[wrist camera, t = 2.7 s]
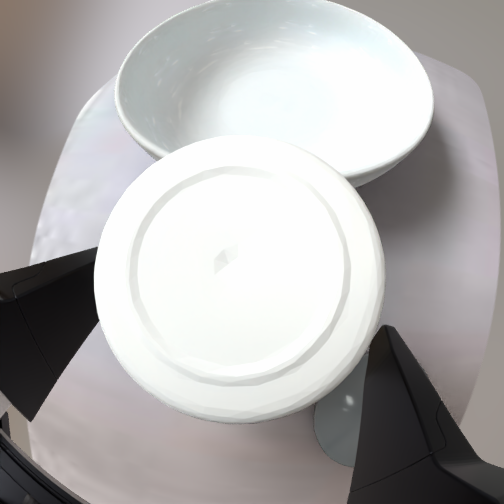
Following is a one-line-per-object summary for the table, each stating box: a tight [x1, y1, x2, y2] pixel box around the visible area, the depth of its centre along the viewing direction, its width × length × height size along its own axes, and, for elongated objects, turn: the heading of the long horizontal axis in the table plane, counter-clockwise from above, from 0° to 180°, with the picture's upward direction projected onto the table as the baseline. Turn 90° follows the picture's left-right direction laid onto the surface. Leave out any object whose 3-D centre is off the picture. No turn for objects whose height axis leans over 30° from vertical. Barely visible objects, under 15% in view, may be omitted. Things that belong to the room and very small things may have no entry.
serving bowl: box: [114, 0, 434, 188], centre depth 17 cm, size 21×21×7 cm
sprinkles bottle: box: [94, 135, 386, 424], centre depth 10 cm, size 5×5×14 cm
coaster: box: [313, 353, 428, 467], centre depth 14 cm, size 8×8×1 cm
